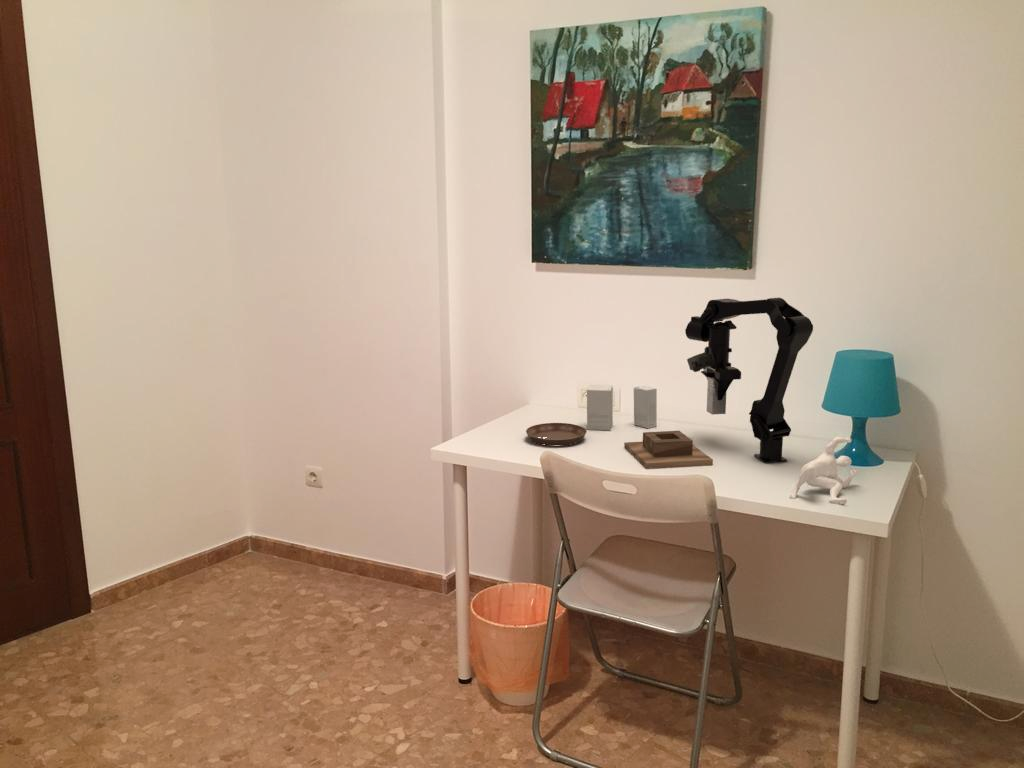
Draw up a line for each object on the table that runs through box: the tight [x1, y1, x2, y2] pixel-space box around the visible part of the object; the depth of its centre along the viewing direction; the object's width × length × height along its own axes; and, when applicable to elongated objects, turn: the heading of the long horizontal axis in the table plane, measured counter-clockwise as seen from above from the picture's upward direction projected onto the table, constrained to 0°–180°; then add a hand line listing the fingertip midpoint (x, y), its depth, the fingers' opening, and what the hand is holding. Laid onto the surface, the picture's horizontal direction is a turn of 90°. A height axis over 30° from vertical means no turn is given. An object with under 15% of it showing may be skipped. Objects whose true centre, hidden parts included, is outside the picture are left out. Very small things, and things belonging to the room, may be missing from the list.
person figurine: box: [789, 436, 858, 505], centre depth 197 cm, size 13×13×18 cm
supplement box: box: [586, 384, 614, 431], centre depth 256 cm, size 7×7×13 cm
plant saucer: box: [525, 422, 588, 446], centre depth 244 cm, size 18×18×3 cm
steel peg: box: [706, 377, 727, 416], centre depth 236 cm, size 4×4×10 cm
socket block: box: [623, 430, 714, 470], centre depth 226 cm, size 20×18×6 cm
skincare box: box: [633, 385, 658, 429], centre depth 257 cm, size 6×4×12 cm
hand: (716, 398), depth 236 cm, fingers closed on steel peg, 4 cm apart
